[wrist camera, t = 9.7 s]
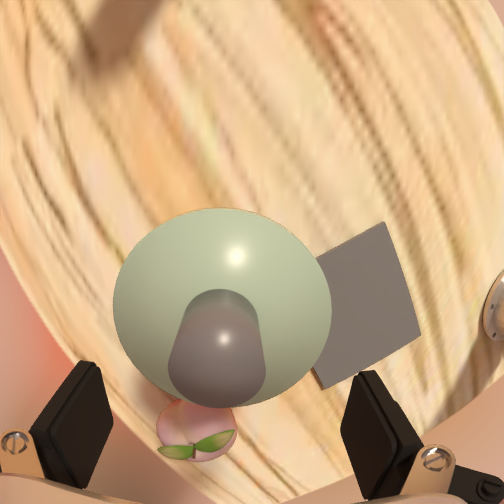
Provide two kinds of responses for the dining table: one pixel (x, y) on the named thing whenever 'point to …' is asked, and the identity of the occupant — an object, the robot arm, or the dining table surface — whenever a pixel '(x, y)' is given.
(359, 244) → the mat
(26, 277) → the dining table surface
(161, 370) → the lid
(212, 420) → the decorative fruit
